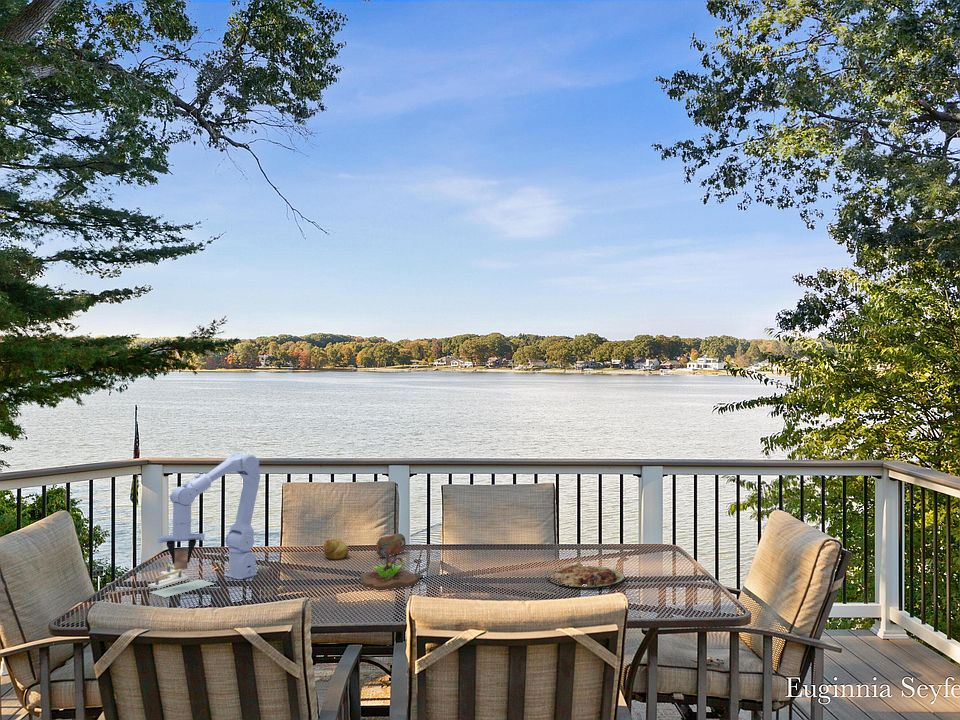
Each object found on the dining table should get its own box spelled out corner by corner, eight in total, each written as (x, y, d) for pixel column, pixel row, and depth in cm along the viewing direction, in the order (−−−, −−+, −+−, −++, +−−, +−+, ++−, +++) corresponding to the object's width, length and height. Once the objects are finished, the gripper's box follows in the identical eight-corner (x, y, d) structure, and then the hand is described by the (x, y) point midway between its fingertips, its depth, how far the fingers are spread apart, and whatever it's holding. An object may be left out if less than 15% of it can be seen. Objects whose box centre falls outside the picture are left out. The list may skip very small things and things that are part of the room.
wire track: (199, 578, 255) (200, 568, 256) (156, 590, 242) (156, 579, 242) (172, 571, 265) (172, 561, 265) (128, 582, 251) (129, 571, 251)
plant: (404, 573, 267) (404, 543, 267) (424, 587, 249) (424, 554, 250) (352, 579, 257) (352, 548, 258) (369, 594, 240) (370, 560, 240)
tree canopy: (380, 559, 285) (380, 538, 286) (374, 558, 287) (375, 537, 288) (406, 552, 297) (406, 532, 298) (400, 551, 299) (400, 531, 300)
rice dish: (536, 588, 252) (536, 573, 252) (558, 566, 277) (558, 552, 277) (615, 598, 241) (615, 582, 241) (631, 574, 266) (631, 560, 266)
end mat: (215, 584, 248) (215, 583, 248) (165, 598, 233) (165, 596, 233) (199, 580, 253) (199, 579, 253) (149, 593, 238) (149, 592, 238)
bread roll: (323, 553, 295) (323, 534, 295) (347, 552, 297) (347, 533, 297) (323, 561, 282) (323, 541, 282) (348, 560, 284) (348, 540, 284)
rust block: (187, 565, 246) (187, 548, 246) (187, 568, 242) (187, 550, 243) (174, 566, 245) (175, 549, 245) (174, 569, 241) (174, 551, 241)
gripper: (204, 519, 250) (203, 558, 250) (159, 521, 245) (158, 561, 245) (204, 522, 244) (204, 562, 243) (158, 525, 238) (157, 566, 238)
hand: (181, 562), depth 244 cm, fingers closed on rust block, 4 cm apart
